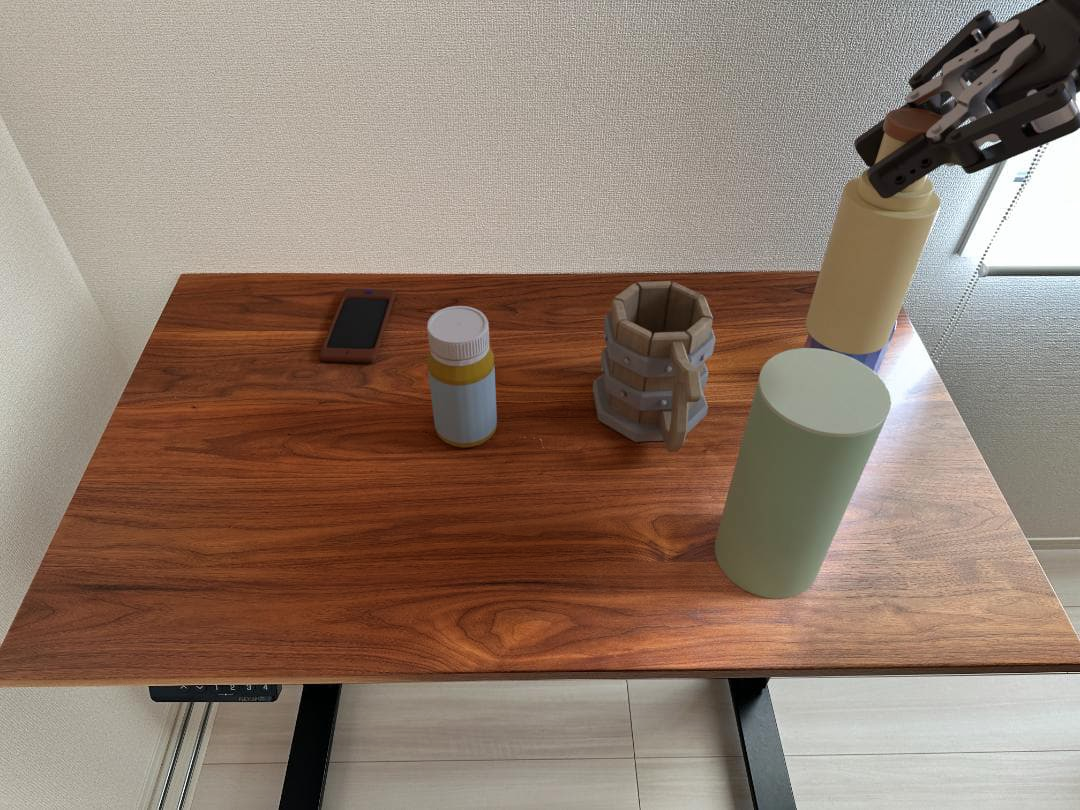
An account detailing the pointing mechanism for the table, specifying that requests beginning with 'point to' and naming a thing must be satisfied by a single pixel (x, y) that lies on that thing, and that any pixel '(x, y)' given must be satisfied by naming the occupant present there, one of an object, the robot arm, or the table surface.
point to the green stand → (798, 468)
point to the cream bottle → (873, 250)
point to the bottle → (461, 376)
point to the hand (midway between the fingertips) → (868, 170)
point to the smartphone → (358, 326)
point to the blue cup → (868, 359)
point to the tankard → (655, 363)
